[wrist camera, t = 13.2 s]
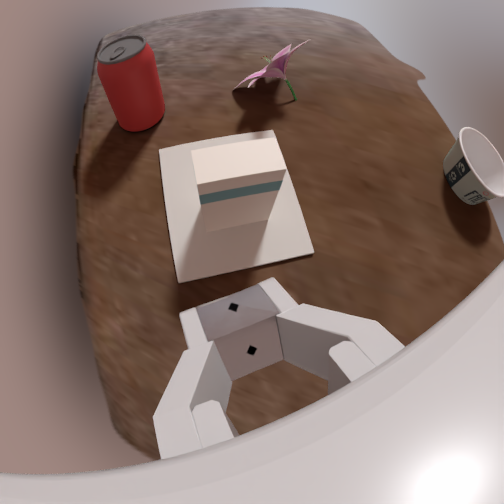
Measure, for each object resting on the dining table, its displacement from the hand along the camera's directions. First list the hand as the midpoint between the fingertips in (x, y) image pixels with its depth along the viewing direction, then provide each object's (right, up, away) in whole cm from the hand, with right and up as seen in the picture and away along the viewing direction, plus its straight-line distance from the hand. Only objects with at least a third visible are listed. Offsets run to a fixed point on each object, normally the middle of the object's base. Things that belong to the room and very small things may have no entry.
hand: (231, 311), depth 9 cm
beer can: (-14, +20, +24) cm, 34 cm away
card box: (-1, +6, +21) cm, 22 cm away
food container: (+35, +14, +27) cm, 46 cm away
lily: (+3, +25, +27) cm, 37 cm away
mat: (-2, +8, +22) cm, 23 cm away
